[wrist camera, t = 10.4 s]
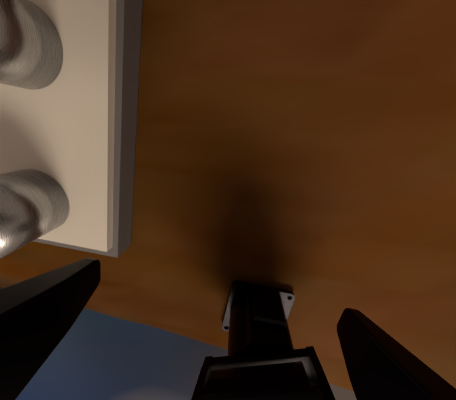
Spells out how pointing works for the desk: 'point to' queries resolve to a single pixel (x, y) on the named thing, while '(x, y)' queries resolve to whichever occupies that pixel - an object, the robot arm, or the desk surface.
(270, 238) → the desk surface
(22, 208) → the cylinder
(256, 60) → the desk surface
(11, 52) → the cylinder
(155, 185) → the desk surface
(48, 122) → the scale
